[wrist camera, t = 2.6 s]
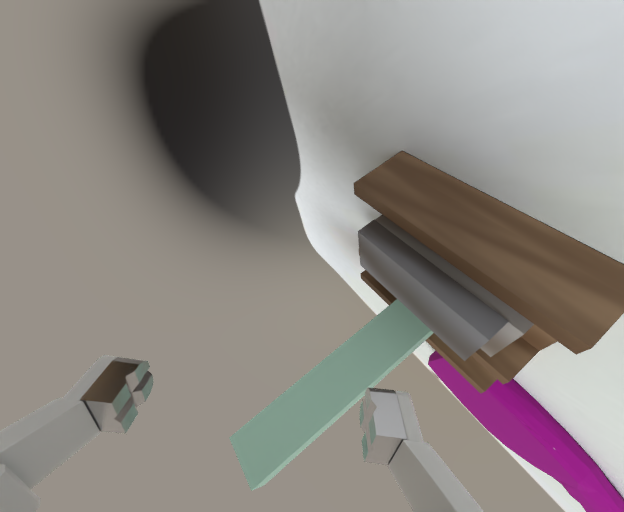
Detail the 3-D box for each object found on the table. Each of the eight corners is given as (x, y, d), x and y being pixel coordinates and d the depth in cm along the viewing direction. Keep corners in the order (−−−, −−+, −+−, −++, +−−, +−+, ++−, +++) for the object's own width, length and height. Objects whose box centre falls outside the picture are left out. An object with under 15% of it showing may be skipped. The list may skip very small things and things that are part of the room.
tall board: (425, 275, 23) (229, 437, 19) (461, 303, 21) (251, 490, 17) (421, 288, 25) (243, 437, 21) (453, 314, 23) (264, 485, 19)
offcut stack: (400, 191, 19) (353, 225, 18) (566, 295, 13) (508, 354, 12) (395, 234, 23) (356, 263, 22) (521, 328, 17) (475, 374, 16)
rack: (401, 150, 19) (353, 183, 18) (653, 279, 11) (592, 348, 10) (391, 255, 30) (361, 279, 29) (515, 357, 22) (479, 394, 21)
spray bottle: (472, 331, 26) (806, 645, 17) (435, 345, 36) (631, 549, 26) (452, 351, 25) (787, 689, 16) (419, 360, 35) (615, 574, 26)
